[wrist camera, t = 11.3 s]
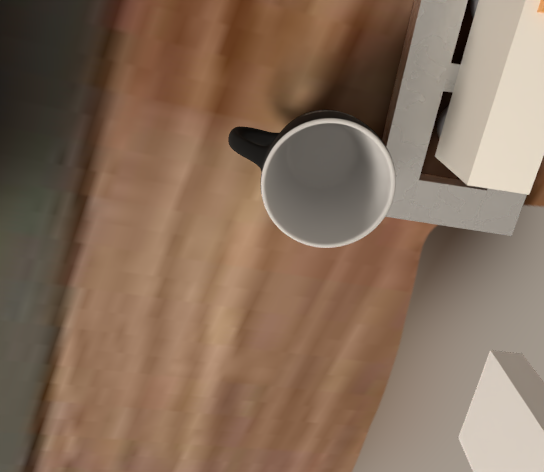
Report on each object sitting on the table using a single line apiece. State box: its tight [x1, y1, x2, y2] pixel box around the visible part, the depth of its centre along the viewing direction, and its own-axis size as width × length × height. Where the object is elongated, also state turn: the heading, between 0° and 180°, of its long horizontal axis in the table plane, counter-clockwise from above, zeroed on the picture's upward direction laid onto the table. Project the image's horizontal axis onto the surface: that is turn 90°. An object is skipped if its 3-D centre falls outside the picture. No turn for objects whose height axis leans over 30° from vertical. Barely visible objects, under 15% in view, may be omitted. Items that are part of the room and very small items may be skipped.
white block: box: [435, 0, 544, 195], centre depth 32 cm, size 4×14×10 cm, turn 172°
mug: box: [229, 110, 396, 248], centre depth 36 cm, size 12×9×10 cm
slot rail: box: [382, 0, 527, 236], centre depth 36 cm, size 12×23×2 cm, turn 172°
